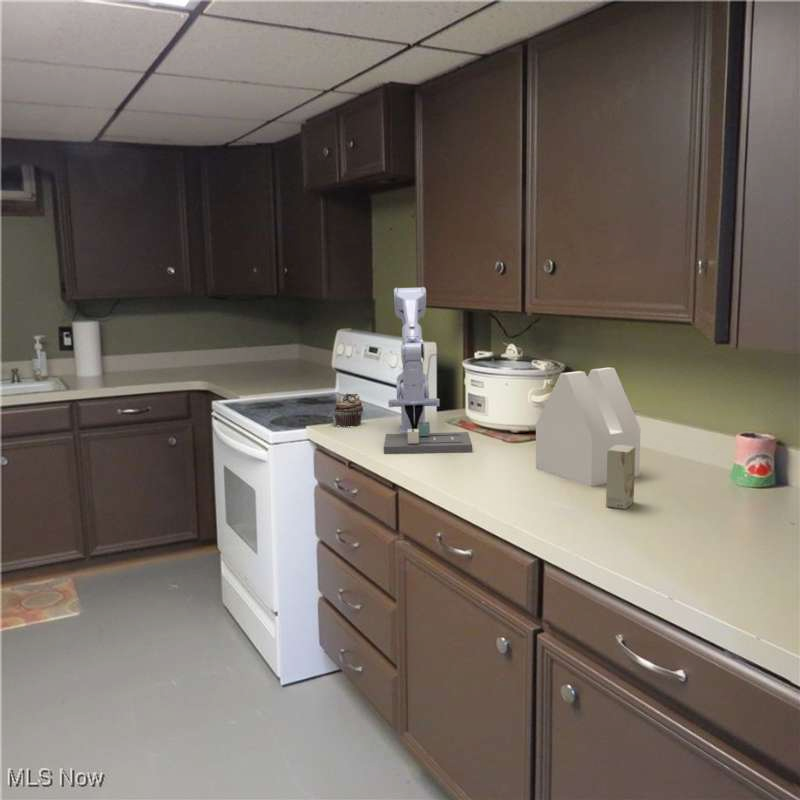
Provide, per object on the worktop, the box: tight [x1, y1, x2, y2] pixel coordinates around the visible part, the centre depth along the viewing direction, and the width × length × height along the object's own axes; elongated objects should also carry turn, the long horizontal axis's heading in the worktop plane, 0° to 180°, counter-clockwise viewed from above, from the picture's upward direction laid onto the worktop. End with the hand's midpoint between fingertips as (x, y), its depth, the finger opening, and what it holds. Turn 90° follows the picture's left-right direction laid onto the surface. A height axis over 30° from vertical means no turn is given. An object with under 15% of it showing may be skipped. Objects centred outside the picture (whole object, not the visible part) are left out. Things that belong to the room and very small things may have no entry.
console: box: [383, 431, 473, 455], centre depth 218 cm, size 16×24×2 cm, turn 89°
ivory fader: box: [408, 429, 419, 444], centre depth 213 cm, size 4×3×3 cm
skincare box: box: [605, 445, 635, 510], centre depth 162 cm, size 6×4×12 cm
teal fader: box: [419, 421, 431, 436], centre depth 222 cm, size 4×3×3 cm
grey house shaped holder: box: [535, 366, 641, 488], centre depth 186 cm, size 19×15×25 cm
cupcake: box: [333, 393, 364, 428], centre depth 249 cm, size 10×10×10 cm
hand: (414, 431), depth 222 cm, fingers closed
